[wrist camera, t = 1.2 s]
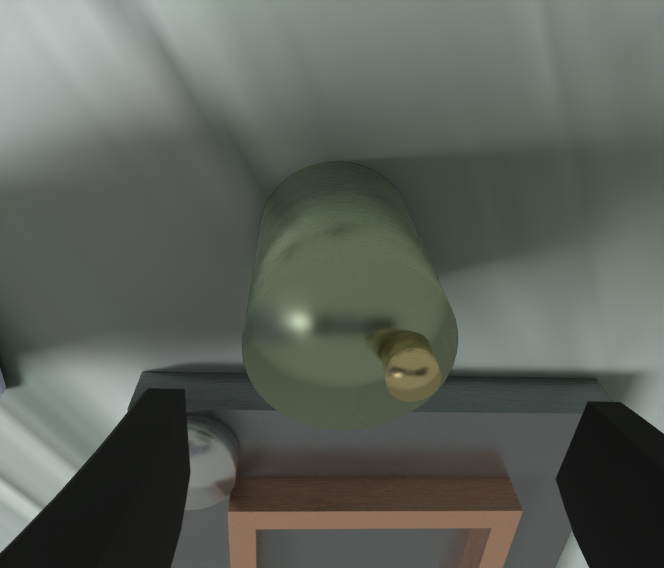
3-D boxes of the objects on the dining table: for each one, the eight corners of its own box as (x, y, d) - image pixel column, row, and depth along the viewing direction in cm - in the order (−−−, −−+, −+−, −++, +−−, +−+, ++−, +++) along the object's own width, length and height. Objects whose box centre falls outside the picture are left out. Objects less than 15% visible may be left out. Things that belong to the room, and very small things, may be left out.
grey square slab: (179, 631, 30) (165, 706, 26) (142, 372, 21) (114, 441, 18) (501, 625, 31) (522, 696, 28) (596, 379, 22) (644, 444, 19)
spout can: (260, 295, 19) (240, 460, 13) (259, 158, 17) (234, 275, 10) (399, 299, 20) (448, 461, 13) (418, 165, 17) (491, 282, 11)
